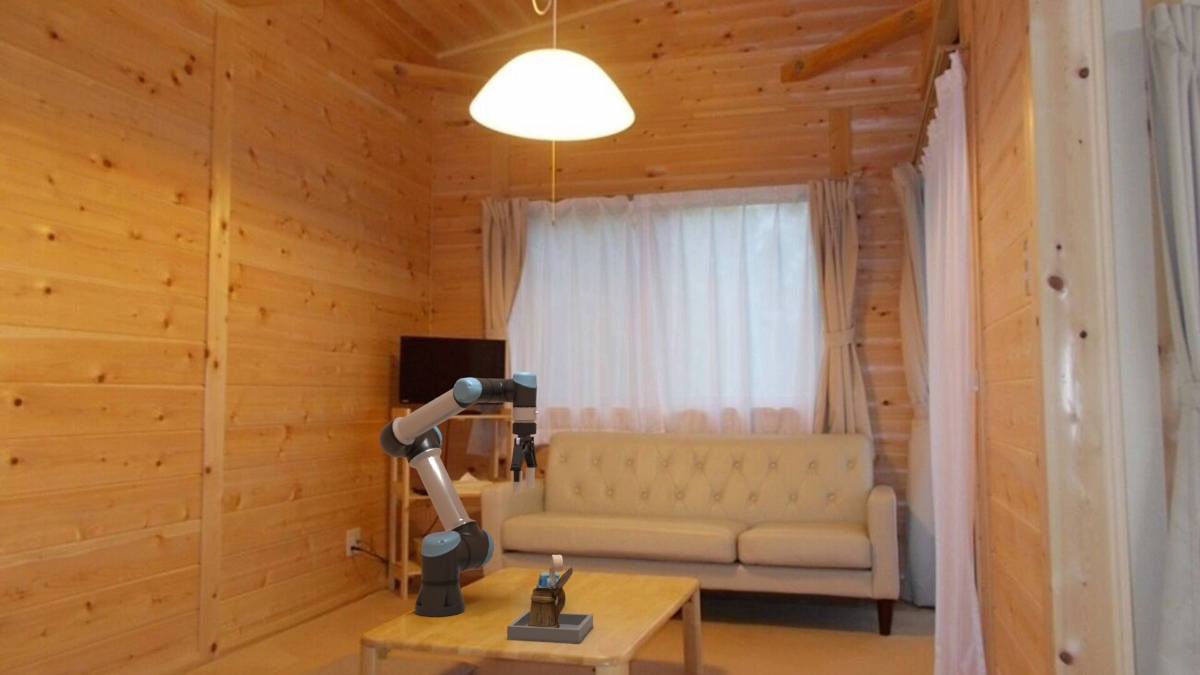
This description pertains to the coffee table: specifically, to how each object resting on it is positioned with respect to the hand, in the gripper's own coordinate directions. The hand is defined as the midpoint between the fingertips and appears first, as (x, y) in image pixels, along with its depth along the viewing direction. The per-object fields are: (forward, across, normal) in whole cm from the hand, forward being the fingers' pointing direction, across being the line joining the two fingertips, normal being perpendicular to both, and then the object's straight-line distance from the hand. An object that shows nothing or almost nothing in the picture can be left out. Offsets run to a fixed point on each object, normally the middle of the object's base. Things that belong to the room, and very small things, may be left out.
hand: (523, 490), depth 276 cm
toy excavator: (+37, +7, -7) cm, 38 cm away
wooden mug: (+36, -23, -15) cm, 46 cm away
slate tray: (+37, -23, -15) cm, 46 cm away
